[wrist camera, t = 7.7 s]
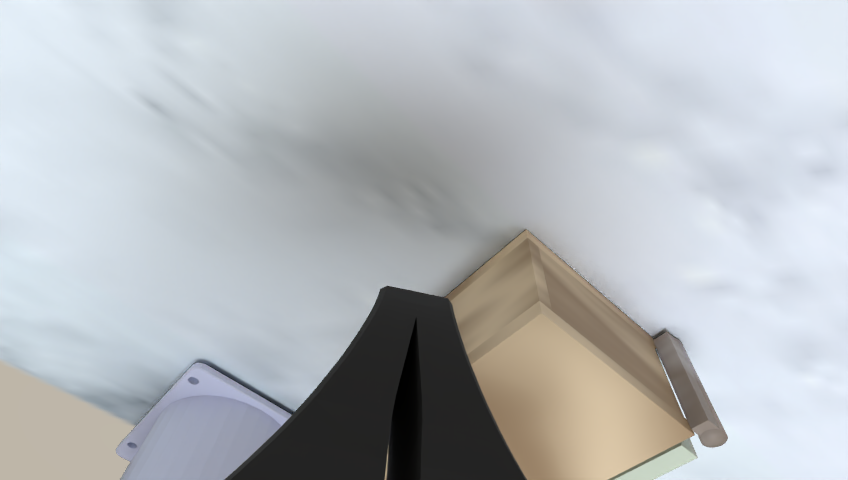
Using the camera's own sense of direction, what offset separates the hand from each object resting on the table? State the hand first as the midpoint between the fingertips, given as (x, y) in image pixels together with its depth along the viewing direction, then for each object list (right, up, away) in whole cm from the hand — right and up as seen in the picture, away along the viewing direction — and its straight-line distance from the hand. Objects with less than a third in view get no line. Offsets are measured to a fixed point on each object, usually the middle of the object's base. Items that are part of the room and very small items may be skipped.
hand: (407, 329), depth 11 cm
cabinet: (+4, -3, +14) cm, 15 cm away
